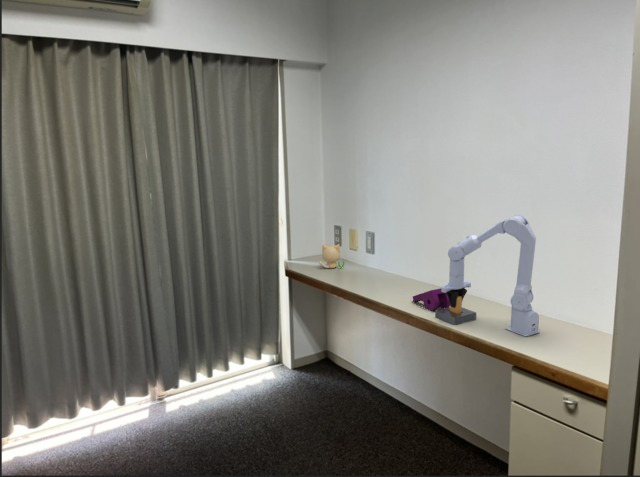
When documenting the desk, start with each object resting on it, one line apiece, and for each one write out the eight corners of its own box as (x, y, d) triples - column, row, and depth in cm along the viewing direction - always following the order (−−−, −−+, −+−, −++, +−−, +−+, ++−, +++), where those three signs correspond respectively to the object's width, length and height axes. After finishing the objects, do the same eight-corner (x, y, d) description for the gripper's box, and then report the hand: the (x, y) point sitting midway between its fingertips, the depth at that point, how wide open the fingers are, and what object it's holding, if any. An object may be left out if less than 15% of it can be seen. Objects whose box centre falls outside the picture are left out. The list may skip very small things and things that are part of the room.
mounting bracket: (413, 315, 216) (436, 309, 201) (408, 297, 218) (431, 290, 203) (429, 312, 220) (453, 305, 205) (424, 294, 222) (448, 287, 207)
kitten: (345, 266, 290) (344, 242, 287) (343, 270, 280) (343, 245, 278) (321, 266, 292) (320, 242, 289) (319, 269, 282) (318, 245, 279)
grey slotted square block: (476, 319, 192) (476, 312, 192) (454, 325, 187) (454, 317, 186) (456, 312, 202) (456, 305, 201) (435, 317, 196) (435, 310, 196)
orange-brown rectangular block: (461, 315, 193) (461, 296, 191) (456, 316, 192) (457, 297, 190) (454, 312, 196) (454, 294, 195) (449, 313, 195) (450, 295, 194)
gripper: (462, 270, 198) (461, 300, 200) (436, 274, 191) (435, 306, 193) (475, 273, 192) (474, 305, 194) (448, 278, 185) (447, 311, 187)
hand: (455, 306), depth 193 cm, fingers closed on orange-brown rectangular block, 2 cm apart
